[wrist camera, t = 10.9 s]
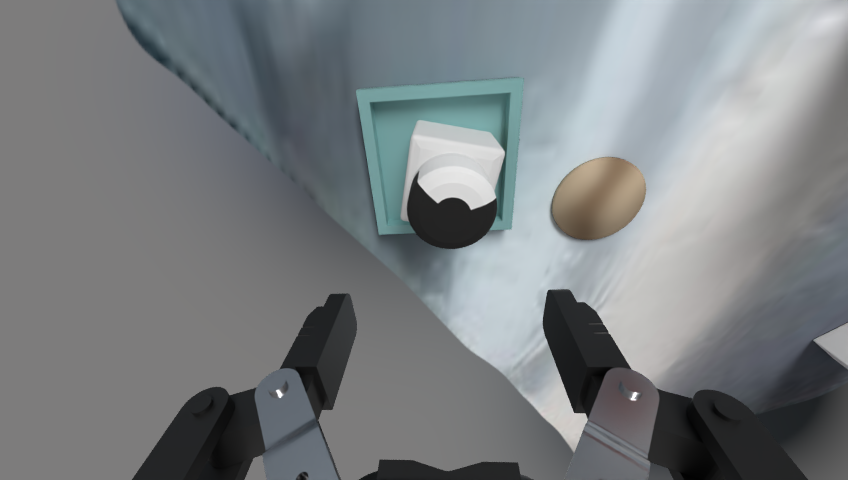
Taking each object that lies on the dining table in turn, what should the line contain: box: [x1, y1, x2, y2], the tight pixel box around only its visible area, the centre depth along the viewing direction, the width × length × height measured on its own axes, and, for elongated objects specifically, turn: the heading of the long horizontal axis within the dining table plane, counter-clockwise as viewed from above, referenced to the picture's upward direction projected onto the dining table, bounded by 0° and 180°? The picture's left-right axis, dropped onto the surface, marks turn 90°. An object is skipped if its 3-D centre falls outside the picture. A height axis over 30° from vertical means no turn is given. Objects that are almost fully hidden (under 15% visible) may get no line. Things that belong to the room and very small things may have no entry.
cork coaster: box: [552, 157, 646, 240], centre depth 32 cm, size 9×9×1 cm
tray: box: [356, 77, 524, 235], centre depth 30 cm, size 14×14×2 cm
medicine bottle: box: [400, 120, 505, 249], centre depth 25 cm, size 7×7×12 cm
